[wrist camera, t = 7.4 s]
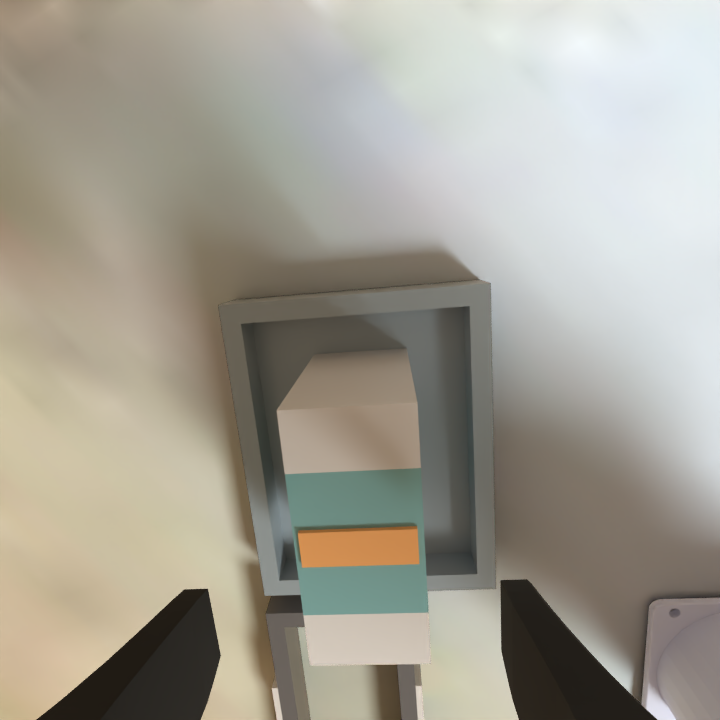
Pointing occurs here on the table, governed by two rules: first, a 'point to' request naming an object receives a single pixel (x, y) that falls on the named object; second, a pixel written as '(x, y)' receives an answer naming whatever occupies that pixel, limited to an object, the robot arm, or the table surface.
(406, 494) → the beige teal carton
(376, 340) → the tray
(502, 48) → the table surface
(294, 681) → the frame
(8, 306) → the table surface
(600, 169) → the table surface
